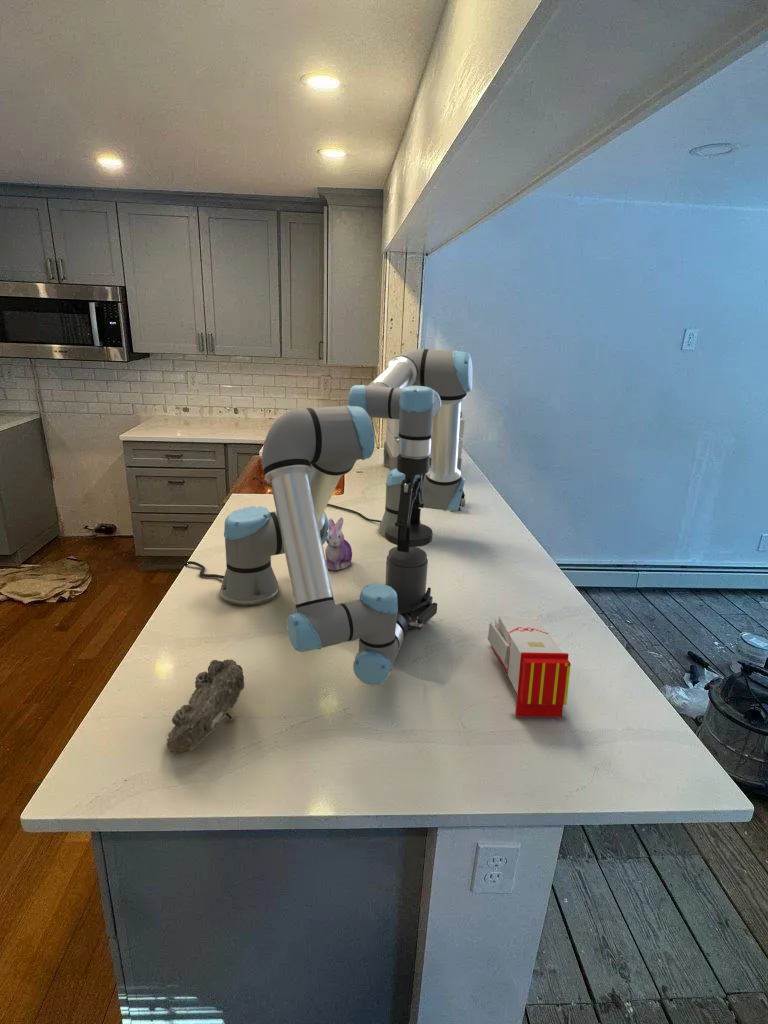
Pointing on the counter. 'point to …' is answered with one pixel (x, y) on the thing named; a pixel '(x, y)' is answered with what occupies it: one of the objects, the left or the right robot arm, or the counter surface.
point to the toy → (531, 665)
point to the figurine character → (462, 501)
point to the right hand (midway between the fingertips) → (408, 541)
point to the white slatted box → (392, 446)
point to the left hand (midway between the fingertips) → (408, 588)
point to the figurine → (337, 547)
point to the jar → (407, 576)
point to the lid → (411, 534)
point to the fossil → (206, 705)
